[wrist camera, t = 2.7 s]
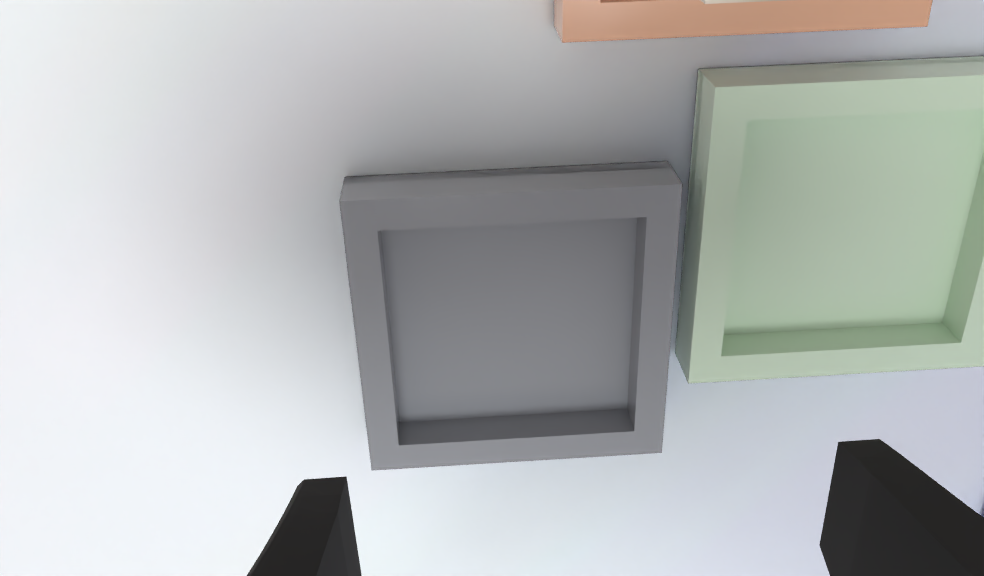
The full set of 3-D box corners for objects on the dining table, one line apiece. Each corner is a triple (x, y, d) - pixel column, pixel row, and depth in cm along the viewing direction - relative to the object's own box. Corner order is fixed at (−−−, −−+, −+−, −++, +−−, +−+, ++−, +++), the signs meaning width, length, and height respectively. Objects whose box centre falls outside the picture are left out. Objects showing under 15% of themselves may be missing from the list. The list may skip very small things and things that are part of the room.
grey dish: (667, 161, 20) (682, 184, 19) (650, 420, 23) (661, 452, 22) (344, 177, 20) (339, 200, 19) (374, 436, 23) (371, 470, 22)
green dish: (1028, 53, 19) (1065, 71, 18) (956, 336, 23) (983, 366, 21) (698, 69, 19) (715, 87, 18) (675, 353, 22) (688, 383, 21)
